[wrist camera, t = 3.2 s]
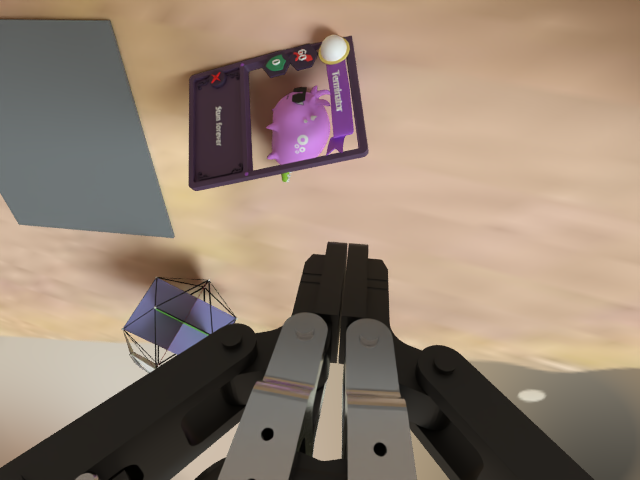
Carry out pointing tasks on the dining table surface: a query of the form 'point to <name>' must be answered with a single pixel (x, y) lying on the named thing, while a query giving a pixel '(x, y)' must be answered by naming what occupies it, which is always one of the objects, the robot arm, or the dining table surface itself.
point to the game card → (288, 117)
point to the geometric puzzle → (173, 320)
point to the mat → (73, 132)
